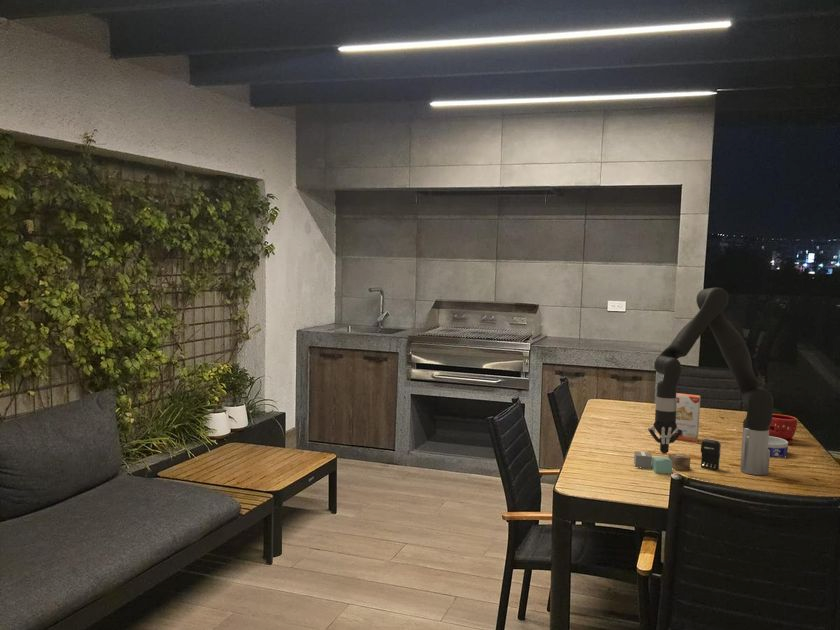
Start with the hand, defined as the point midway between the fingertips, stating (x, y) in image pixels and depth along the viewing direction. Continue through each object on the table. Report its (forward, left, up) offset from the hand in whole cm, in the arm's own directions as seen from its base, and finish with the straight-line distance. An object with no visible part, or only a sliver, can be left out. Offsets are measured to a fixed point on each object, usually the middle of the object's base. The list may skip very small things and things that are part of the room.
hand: (664, 453), depth 271 cm
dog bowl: (-54, -36, -8) cm, 65 cm away
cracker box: (-23, -54, -7) cm, 59 cm away
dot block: (-8, -6, -7) cm, 12 cm away
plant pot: (-68, -57, -7) cm, 89 cm away
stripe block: (+6, -6, -7) cm, 12 cm away
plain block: (0, 0, -7) cm, 7 cm away
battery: (-20, -7, -7) cm, 22 cm away
